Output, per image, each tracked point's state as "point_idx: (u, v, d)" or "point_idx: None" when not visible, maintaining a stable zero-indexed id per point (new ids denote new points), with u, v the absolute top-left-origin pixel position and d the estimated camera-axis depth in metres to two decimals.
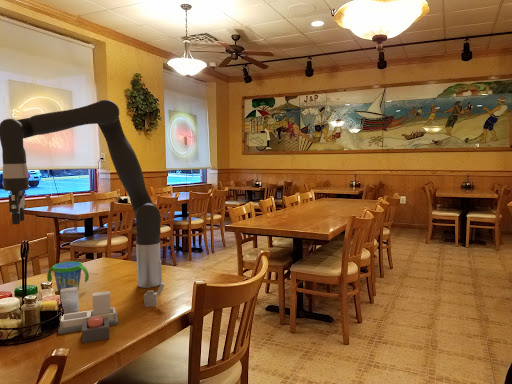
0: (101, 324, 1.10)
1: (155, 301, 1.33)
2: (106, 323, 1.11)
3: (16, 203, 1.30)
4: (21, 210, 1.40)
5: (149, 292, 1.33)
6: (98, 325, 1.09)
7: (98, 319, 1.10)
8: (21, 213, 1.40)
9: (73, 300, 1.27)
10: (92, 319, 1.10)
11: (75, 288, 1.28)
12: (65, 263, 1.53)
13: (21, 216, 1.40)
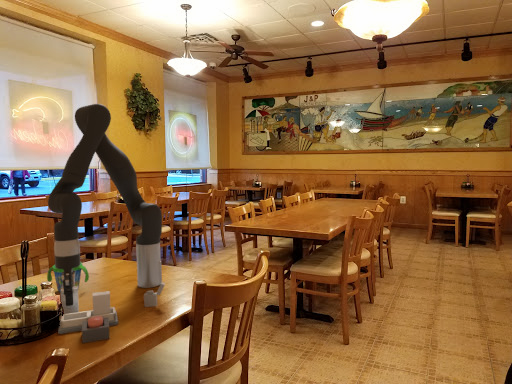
0: (101, 324, 1.10)
1: (155, 301, 1.33)
2: (106, 323, 1.11)
3: (70, 287, 1.23)
4: None
5: (149, 292, 1.33)
6: (98, 325, 1.09)
7: (98, 319, 1.10)
8: None
9: (74, 300, 1.27)
10: (92, 319, 1.10)
11: (75, 287, 1.28)
12: None
13: None
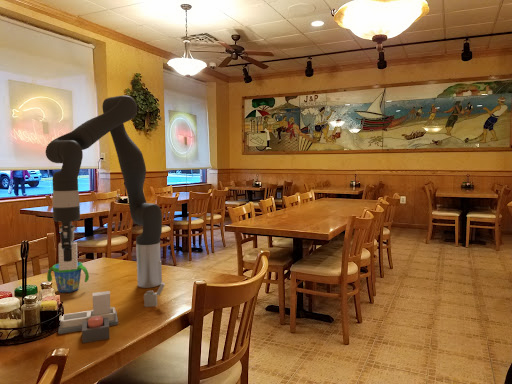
0: (101, 324, 1.10)
1: (155, 301, 1.33)
2: (106, 323, 1.11)
3: (69, 241, 1.15)
4: None
5: (149, 292, 1.33)
6: (98, 325, 1.09)
7: (98, 319, 1.10)
8: None
9: (72, 255, 1.19)
10: (92, 319, 1.10)
11: (74, 243, 1.21)
12: None
13: None
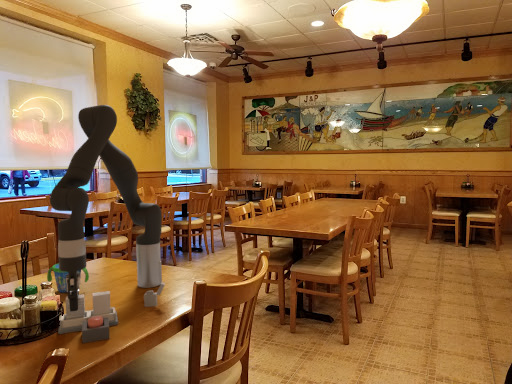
0: (101, 324, 1.10)
1: (155, 301, 1.33)
2: (106, 323, 1.11)
3: (75, 288, 1.11)
4: None
5: (149, 292, 1.33)
6: (98, 325, 1.09)
7: (98, 319, 1.10)
8: None
9: (80, 309, 1.17)
10: (92, 319, 1.10)
11: (81, 296, 1.18)
12: None
13: None
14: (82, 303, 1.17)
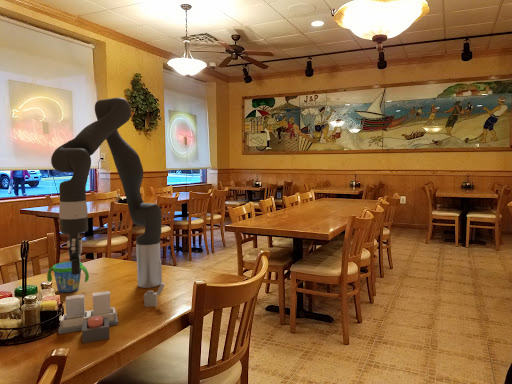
0: (101, 324, 1.10)
1: (155, 301, 1.33)
2: (106, 323, 1.11)
3: (77, 255, 1.10)
4: None
5: (149, 292, 1.33)
6: (98, 325, 1.09)
7: (98, 319, 1.10)
8: None
9: (80, 309, 1.17)
10: (92, 319, 1.10)
11: (81, 296, 1.18)
12: (65, 263, 1.53)
13: None
14: (82, 303, 1.17)
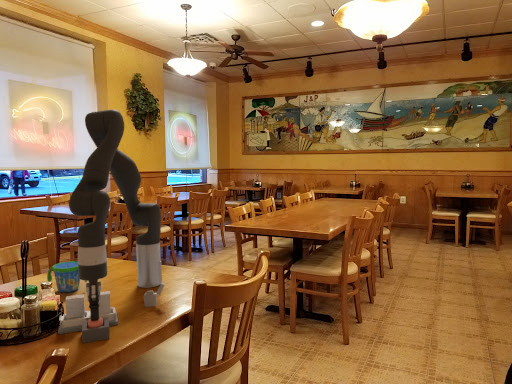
0: (101, 325, 1.10)
1: (155, 301, 1.33)
2: (106, 323, 1.11)
3: (97, 302, 1.06)
4: None
5: (149, 292, 1.33)
6: (98, 326, 1.09)
7: (98, 320, 1.10)
8: None
9: (80, 309, 1.17)
10: None
11: (81, 296, 1.18)
12: (65, 263, 1.53)
13: None
14: (82, 303, 1.17)
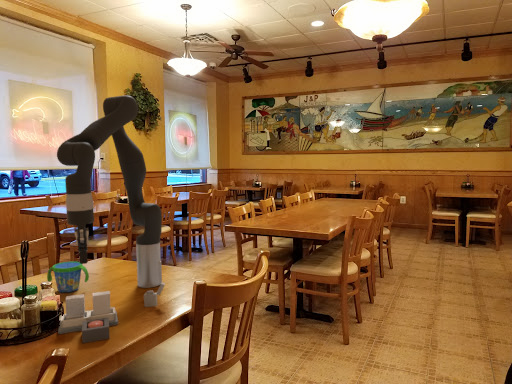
0: None
1: (155, 301, 1.33)
2: (106, 323, 1.11)
3: (85, 245, 1.15)
4: None
5: (149, 292, 1.33)
6: None
7: (98, 324, 1.10)
8: None
9: (80, 309, 1.17)
10: (93, 323, 1.10)
11: (81, 296, 1.18)
12: (65, 263, 1.53)
13: None
14: (82, 303, 1.17)
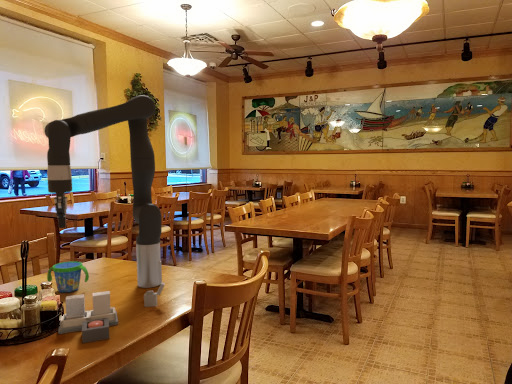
0: None
1: (155, 301, 1.33)
2: (106, 323, 1.11)
3: (63, 210, 1.31)
4: None
5: (149, 292, 1.33)
6: None
7: (98, 324, 1.10)
8: None
9: (80, 309, 1.17)
10: (93, 323, 1.10)
11: (81, 296, 1.18)
12: (65, 263, 1.53)
13: None
14: (82, 303, 1.17)
